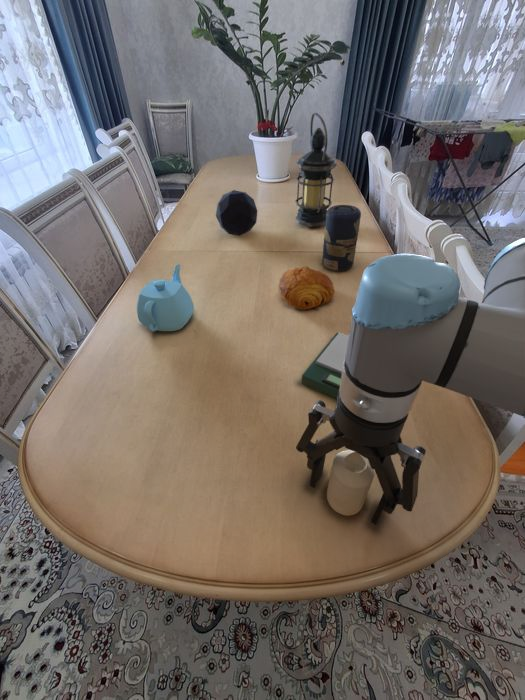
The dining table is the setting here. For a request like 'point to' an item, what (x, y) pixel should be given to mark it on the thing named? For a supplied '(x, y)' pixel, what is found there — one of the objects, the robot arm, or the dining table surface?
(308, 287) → the croissant
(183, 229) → the dining table surface
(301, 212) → the lantern
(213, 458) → the dining table surface
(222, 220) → the decorative orb
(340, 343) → the scale
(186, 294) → the teapot
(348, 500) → the candle
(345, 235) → the canister
